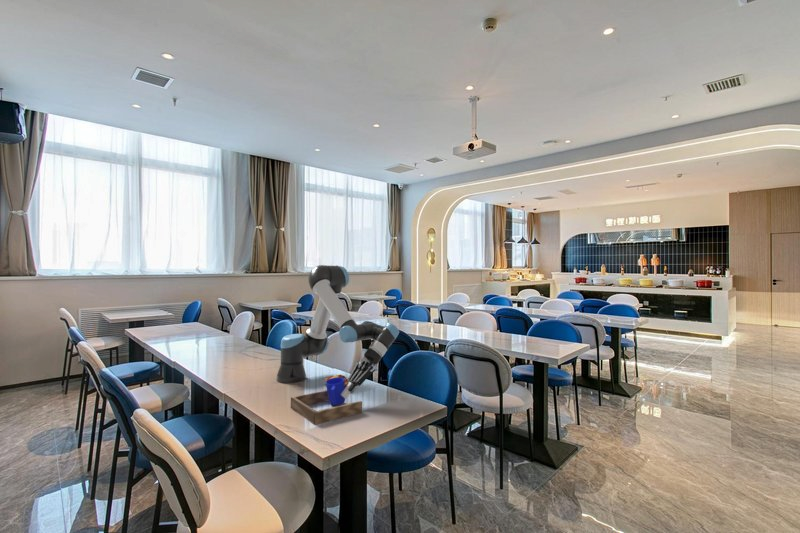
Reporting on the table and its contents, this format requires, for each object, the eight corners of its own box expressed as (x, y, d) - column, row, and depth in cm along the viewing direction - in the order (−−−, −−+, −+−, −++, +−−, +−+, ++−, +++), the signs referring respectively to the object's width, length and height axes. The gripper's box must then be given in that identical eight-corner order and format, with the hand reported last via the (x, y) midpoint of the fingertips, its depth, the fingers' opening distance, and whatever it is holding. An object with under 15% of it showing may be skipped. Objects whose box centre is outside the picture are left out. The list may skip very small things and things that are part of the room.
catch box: (335, 398, 173) (335, 388, 174) (362, 412, 156) (362, 401, 156) (290, 407, 160) (290, 397, 160) (314, 424, 143) (315, 412, 143)
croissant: (320, 390, 196) (314, 378, 194) (335, 378, 202) (329, 366, 200) (346, 399, 181) (339, 386, 179) (360, 386, 188) (354, 373, 185)
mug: (325, 412, 158) (322, 388, 157) (329, 400, 170) (327, 378, 169) (344, 409, 158) (342, 386, 157) (348, 398, 170) (345, 376, 169)
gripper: (388, 360, 170) (356, 405, 159) (371, 355, 180) (340, 398, 169) (379, 349, 167) (345, 395, 156) (362, 345, 177) (330, 388, 166)
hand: (343, 396), depth 162 cm, fingers closed
